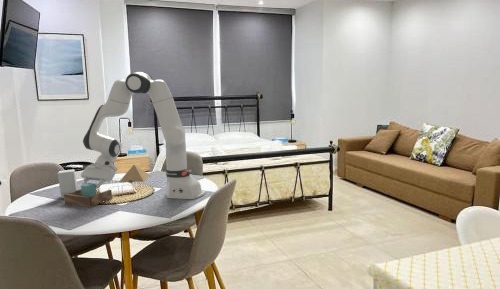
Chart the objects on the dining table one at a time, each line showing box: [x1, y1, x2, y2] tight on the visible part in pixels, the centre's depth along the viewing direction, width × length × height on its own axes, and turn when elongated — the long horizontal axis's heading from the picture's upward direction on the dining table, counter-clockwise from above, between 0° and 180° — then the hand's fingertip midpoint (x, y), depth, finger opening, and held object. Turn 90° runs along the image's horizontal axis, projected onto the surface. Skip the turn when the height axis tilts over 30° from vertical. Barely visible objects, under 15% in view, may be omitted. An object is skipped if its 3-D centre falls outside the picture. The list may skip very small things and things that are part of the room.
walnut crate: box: [63, 188, 113, 208], centre depth 192 cm, size 15×18×5 cm
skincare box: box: [57, 168, 79, 199], centre depth 201 cm, size 8×6×15 cm
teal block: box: [80, 182, 97, 197], centre depth 192 cm, size 5×5×9 cm
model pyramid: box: [118, 164, 151, 183], centre depth 239 cm, size 17×17×10 cm
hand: (90, 186), depth 193 cm, fingers open, 8 cm apart
